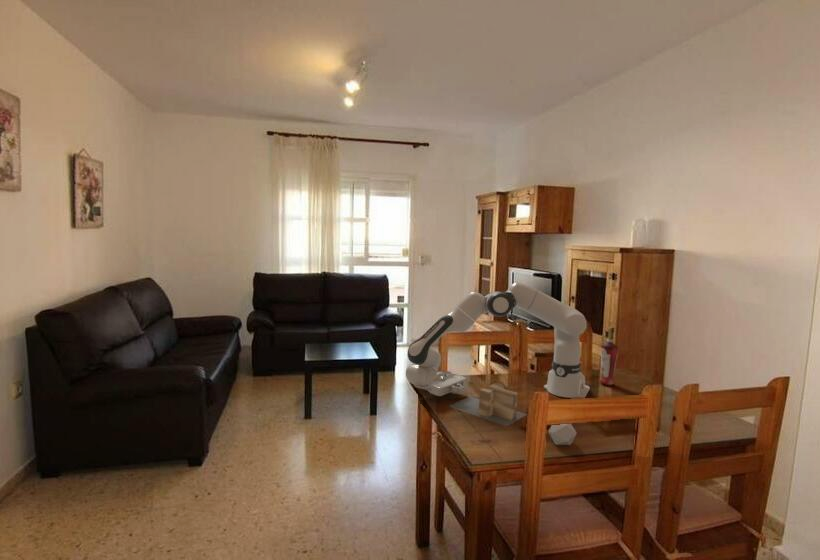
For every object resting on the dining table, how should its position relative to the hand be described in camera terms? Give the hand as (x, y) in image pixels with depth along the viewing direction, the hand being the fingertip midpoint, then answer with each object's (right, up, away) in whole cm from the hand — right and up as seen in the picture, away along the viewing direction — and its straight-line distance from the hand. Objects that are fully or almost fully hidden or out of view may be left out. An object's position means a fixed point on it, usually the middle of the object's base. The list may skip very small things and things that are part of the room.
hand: (463, 390), depth 194 cm
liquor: (+73, -5, +32) cm, 80 cm away
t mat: (+9, -7, -7) cm, 13 cm away
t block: (+13, -7, -10) cm, 18 cm away
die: (+30, -11, -33) cm, 46 cm away
